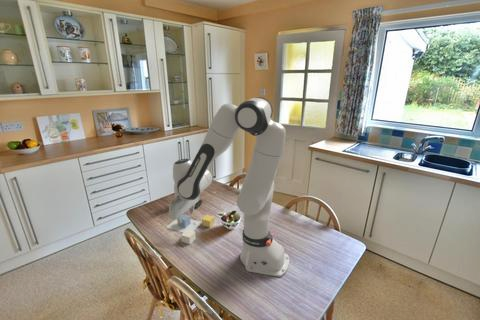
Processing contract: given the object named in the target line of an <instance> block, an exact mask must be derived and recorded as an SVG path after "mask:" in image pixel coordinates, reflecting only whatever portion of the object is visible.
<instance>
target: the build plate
mask: <svg viewBox="0 0 480 320" xmlns="http://www.w3.org/2000/svg"><path fill="white" fill-rule="evenodd" d="M190 220H191V224H190V225H189V226H187V227H186V228H183V227H179V226H178V222H177V219H176V220H174V219H173V221H172V222H170V223H169V224H168V225H166V228H167V229H170V230H172V231H177V232H180V233H182V234H183V233H184V232H185V231H186V230H187V229H188V230H191V231H194V232H195V231H196V229H198V228H199V227H200V226H201V225H202V221H200V220H195V219H192V218H190Z"/></svg>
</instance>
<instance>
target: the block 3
mask: <svg viewBox="0 0 480 320" xmlns="http://www.w3.org/2000/svg"><path fill="white" fill-rule="evenodd" d="M201 222H202V223H201V225H202V226H203V227H206V228H211V227H213V225H214V224H215V223H216V221H215V216H213V215H209V214H206V215H204V216H203V218H202V219H201Z"/></svg>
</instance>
